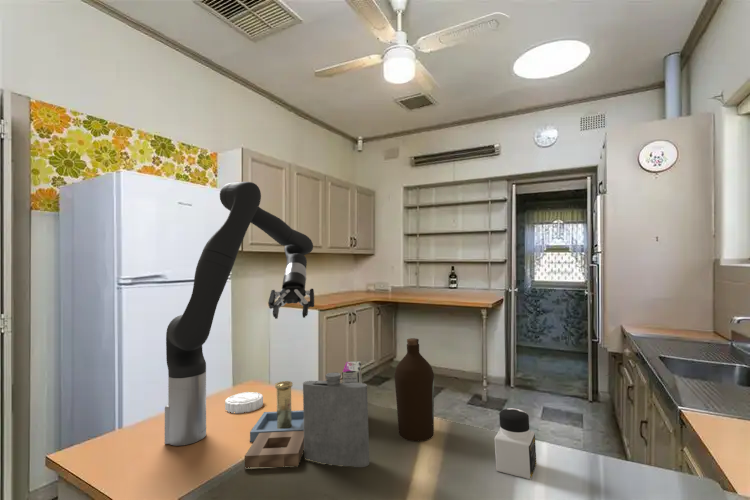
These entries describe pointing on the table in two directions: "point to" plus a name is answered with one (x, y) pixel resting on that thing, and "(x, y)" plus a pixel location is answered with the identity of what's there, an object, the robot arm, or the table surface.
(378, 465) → the table surface
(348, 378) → the candy bar box
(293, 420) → the slate tray
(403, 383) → the olive oil
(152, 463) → the table surface
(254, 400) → the mooncake
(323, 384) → the hip flask
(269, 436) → the walnut pin block
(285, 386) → the brass pin
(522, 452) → the medicine bottle
